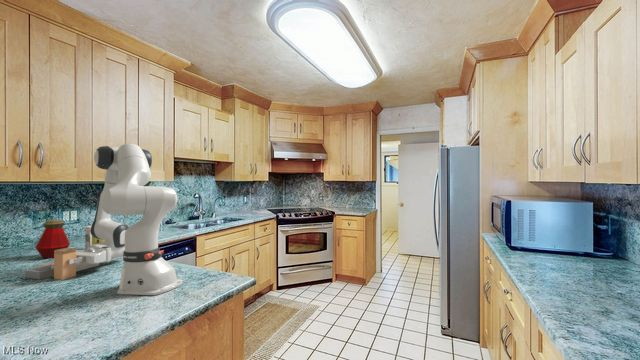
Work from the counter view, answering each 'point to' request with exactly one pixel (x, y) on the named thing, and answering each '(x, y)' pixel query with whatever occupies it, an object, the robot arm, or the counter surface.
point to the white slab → (51, 270)
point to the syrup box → (88, 237)
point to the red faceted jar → (52, 239)
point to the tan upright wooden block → (64, 263)
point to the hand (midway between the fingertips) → (62, 261)
